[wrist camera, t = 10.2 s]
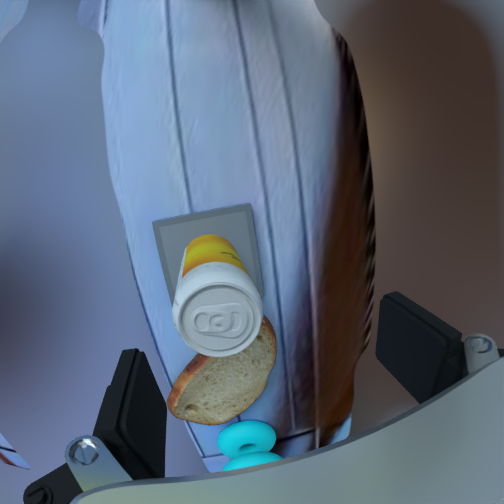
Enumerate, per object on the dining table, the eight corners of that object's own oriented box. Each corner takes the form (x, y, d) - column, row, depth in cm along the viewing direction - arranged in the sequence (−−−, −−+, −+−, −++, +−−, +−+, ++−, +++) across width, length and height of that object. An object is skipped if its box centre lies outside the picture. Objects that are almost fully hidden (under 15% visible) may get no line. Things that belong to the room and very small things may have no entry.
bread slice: (267, 301, 36) (275, 314, 32) (287, 397, 41) (294, 412, 37) (135, 334, 34) (129, 349, 30) (180, 423, 39) (180, 439, 35)
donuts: (301, 472, 33) (253, 496, 33) (284, 430, 42) (243, 456, 43) (259, 456, 30) (209, 483, 30) (247, 408, 40) (204, 437, 40)
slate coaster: (153, 221, 31) (151, 222, 29) (248, 203, 32) (250, 203, 31) (174, 309, 34) (174, 313, 32) (262, 291, 35) (264, 295, 34)
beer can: (234, 285, 33) (262, 360, 19) (182, 284, 32) (173, 361, 17) (238, 234, 32) (272, 277, 17) (183, 232, 30) (170, 275, 16)
